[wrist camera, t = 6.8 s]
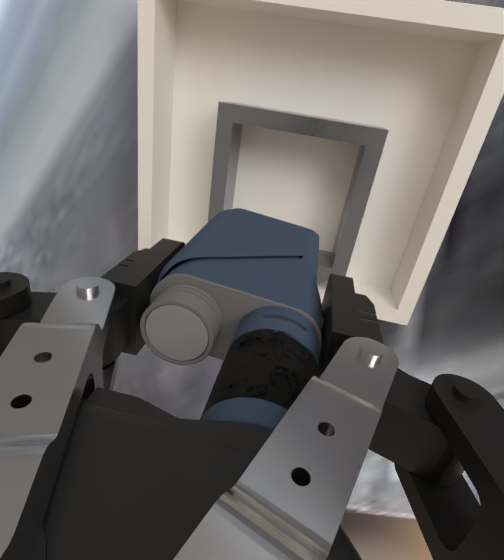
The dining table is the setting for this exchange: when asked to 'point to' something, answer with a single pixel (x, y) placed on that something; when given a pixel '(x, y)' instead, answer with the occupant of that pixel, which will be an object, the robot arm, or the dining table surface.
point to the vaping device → (242, 314)
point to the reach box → (324, 103)
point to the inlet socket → (339, 130)
